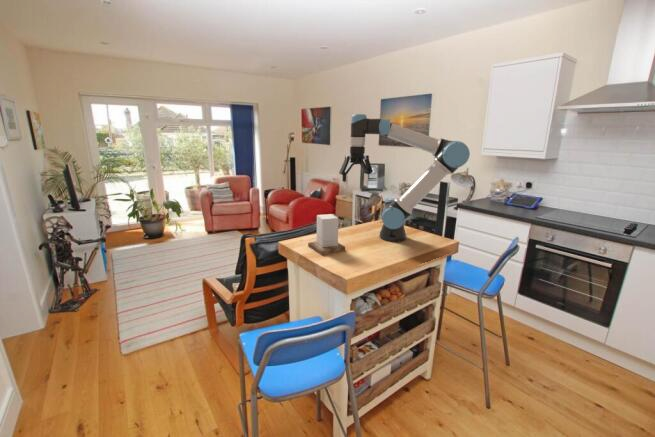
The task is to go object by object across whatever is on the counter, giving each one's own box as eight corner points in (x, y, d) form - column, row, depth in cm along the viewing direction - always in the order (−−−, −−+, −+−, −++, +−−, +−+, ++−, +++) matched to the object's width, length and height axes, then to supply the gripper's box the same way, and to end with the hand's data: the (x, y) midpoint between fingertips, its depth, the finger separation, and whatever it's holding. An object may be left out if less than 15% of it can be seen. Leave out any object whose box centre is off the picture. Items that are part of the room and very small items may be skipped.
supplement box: (338, 246, 158) (339, 217, 154) (321, 247, 155) (322, 219, 151) (331, 240, 166) (332, 213, 162) (316, 242, 163) (316, 214, 159)
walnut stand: (330, 242, 170) (330, 238, 170) (345, 250, 159) (345, 245, 158) (308, 246, 163) (308, 242, 163) (321, 255, 152) (321, 250, 151)
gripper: (371, 145, 168) (369, 184, 174) (333, 145, 155) (332, 187, 161) (380, 146, 162) (378, 186, 168) (341, 146, 149) (340, 189, 155)
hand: (355, 186), depth 164 cm, fingers open, 13 cm apart
